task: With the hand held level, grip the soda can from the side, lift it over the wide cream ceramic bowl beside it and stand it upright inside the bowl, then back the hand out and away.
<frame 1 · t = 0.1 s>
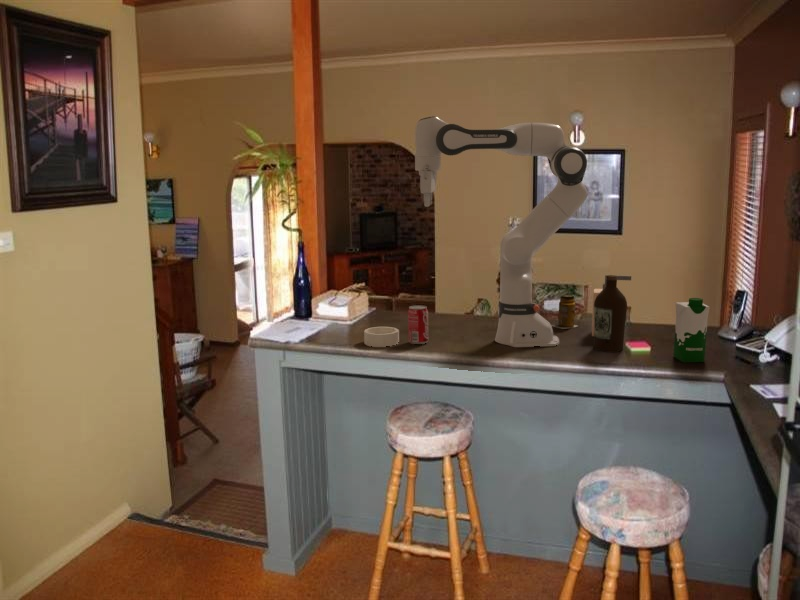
hand: (428, 205, 246), 48 cm above the table, tool pointing down, fingers open, 8 cm apart
bowl: (381, 342, 251), on the table
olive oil: (608, 348, 241), on the table
soap dispenser: (610, 335, 260), on the table
soda can: (418, 343, 251), on the table
condiment: (564, 326, 274), on the table
milk carton: (688, 359, 226), on the table
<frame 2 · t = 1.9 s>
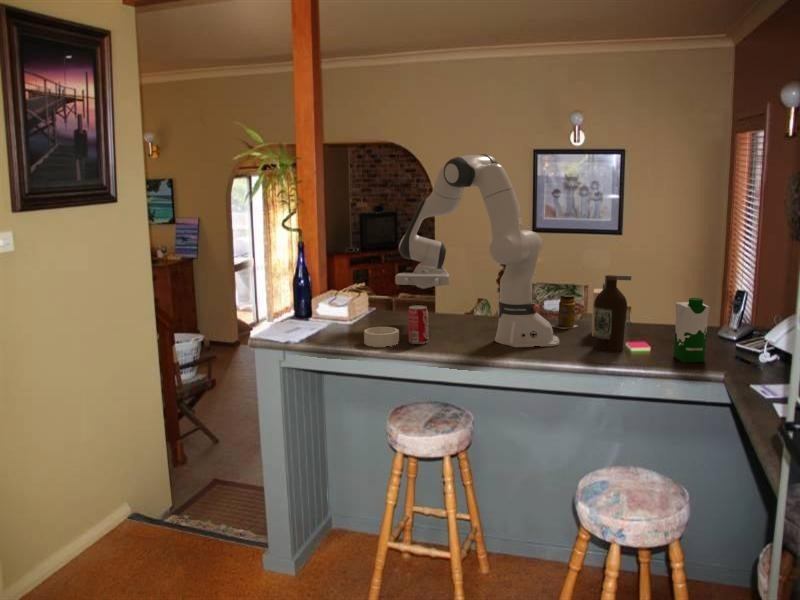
hand: (420, 282, 259), 20 cm above the table, tool horizontal, fingers open, 8 cm apart
nothing on the table moved.
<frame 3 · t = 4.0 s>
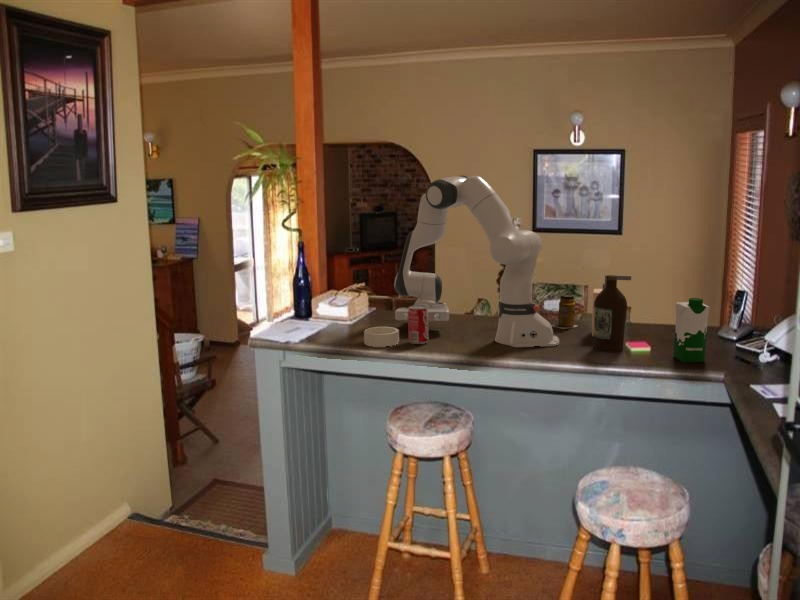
hand: (420, 318, 258), 7 cm above the table, tool horizontal, fingers open, 8 cm apart
nothing on the table moved.
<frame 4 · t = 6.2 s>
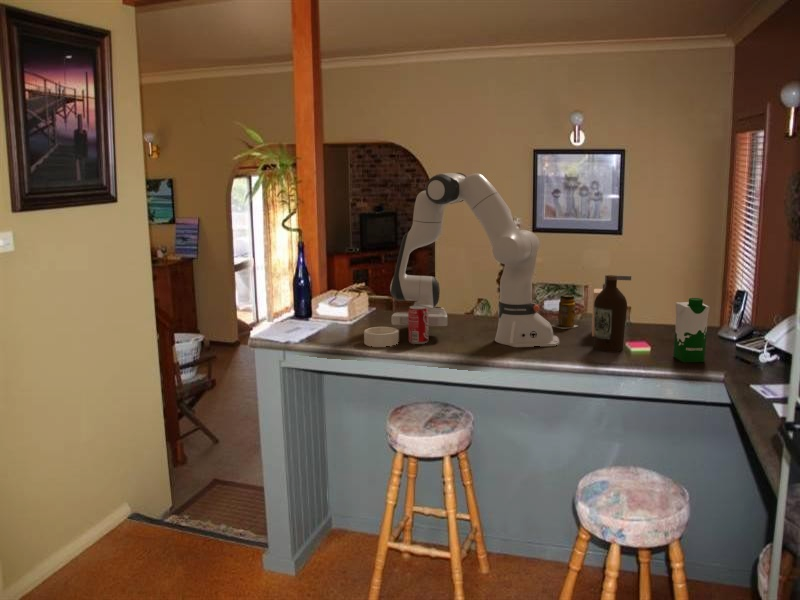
hand: (417, 323, 249), 7 cm above the table, tool horizontal, fingers closed
soda can: (418, 343, 251), on the table, touching gripper
everything else where it was.
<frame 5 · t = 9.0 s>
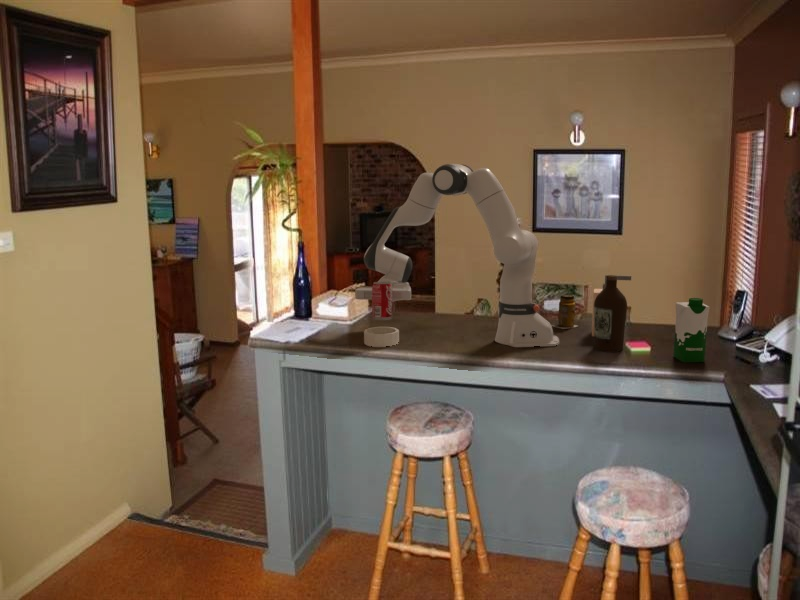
hand: (380, 297, 248), 17 cm above the table, tool horizontal, fingers closed on soda can
soda can: (382, 319, 249), point 9 cm above the table, touching gripper
everything else where it was.
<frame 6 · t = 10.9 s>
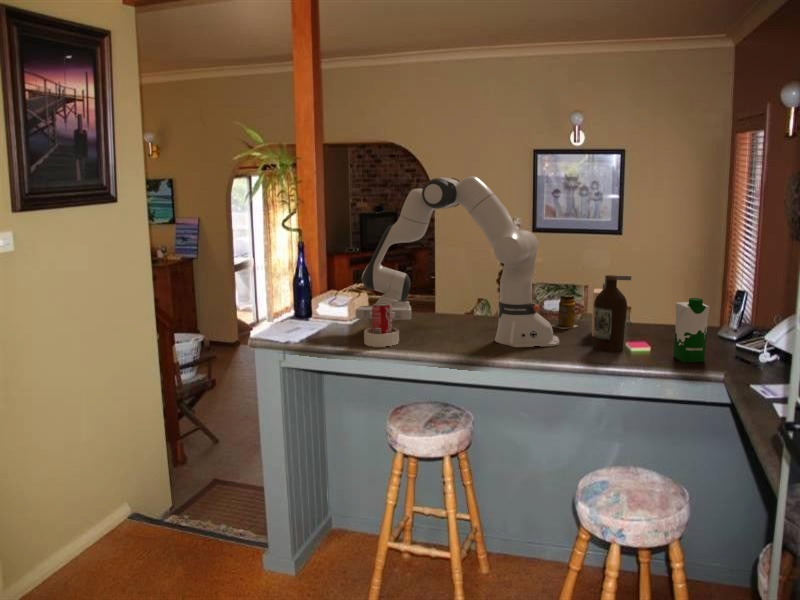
hand: (380, 317, 249), 9 cm above the table, tool horizontal, fingers open, 4 cm apart
soda can: (382, 341, 250), point 1 cm above the table, touching bowl
everything else where it was.
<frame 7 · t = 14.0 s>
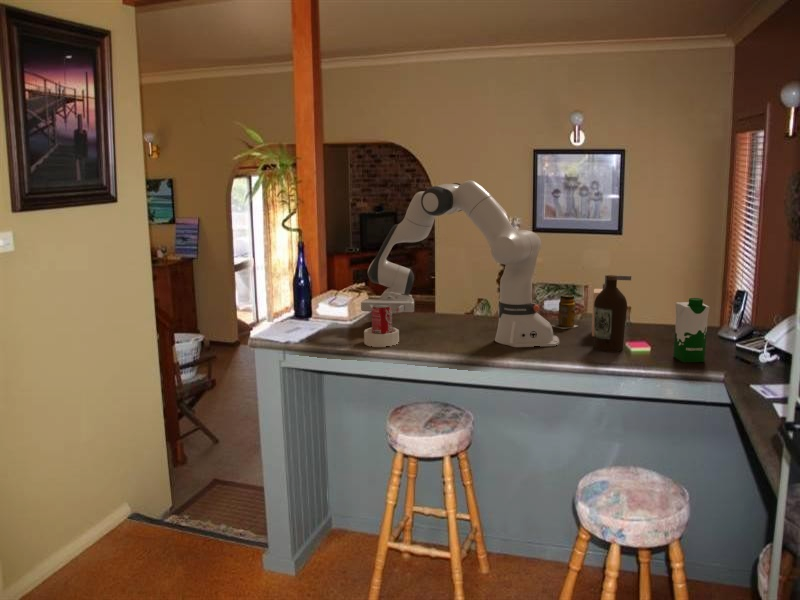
hand: (385, 309, 261), 10 cm above the table, tool horizontal, fingers open, 8 cm apart
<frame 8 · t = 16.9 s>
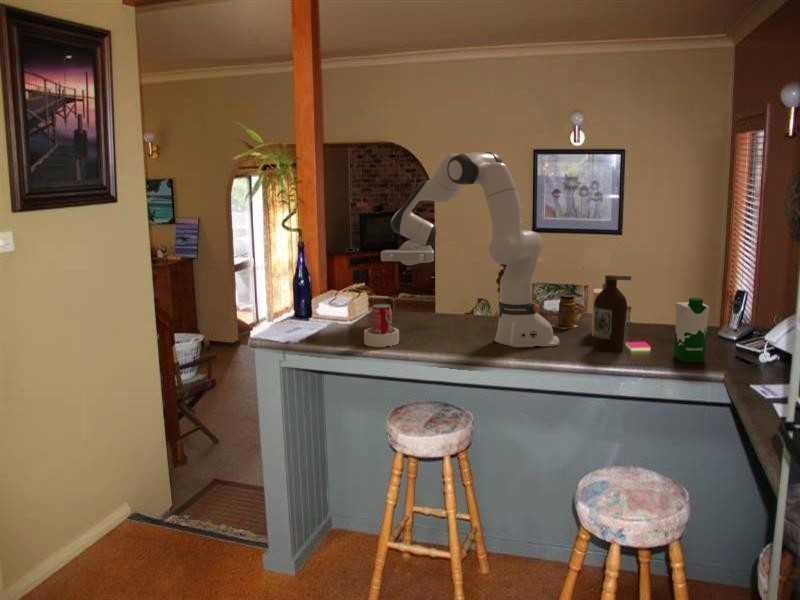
hand: (405, 258, 262), 28 cm above the table, tool horizontal, fingers open, 8 cm apart
nothing on the table moved.
at the end: soda can 1.1 cm off-centre on the bowl, point 0.6 cm above the bowl's base; soda can tilted 0°; the gripper is holding nothing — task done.
